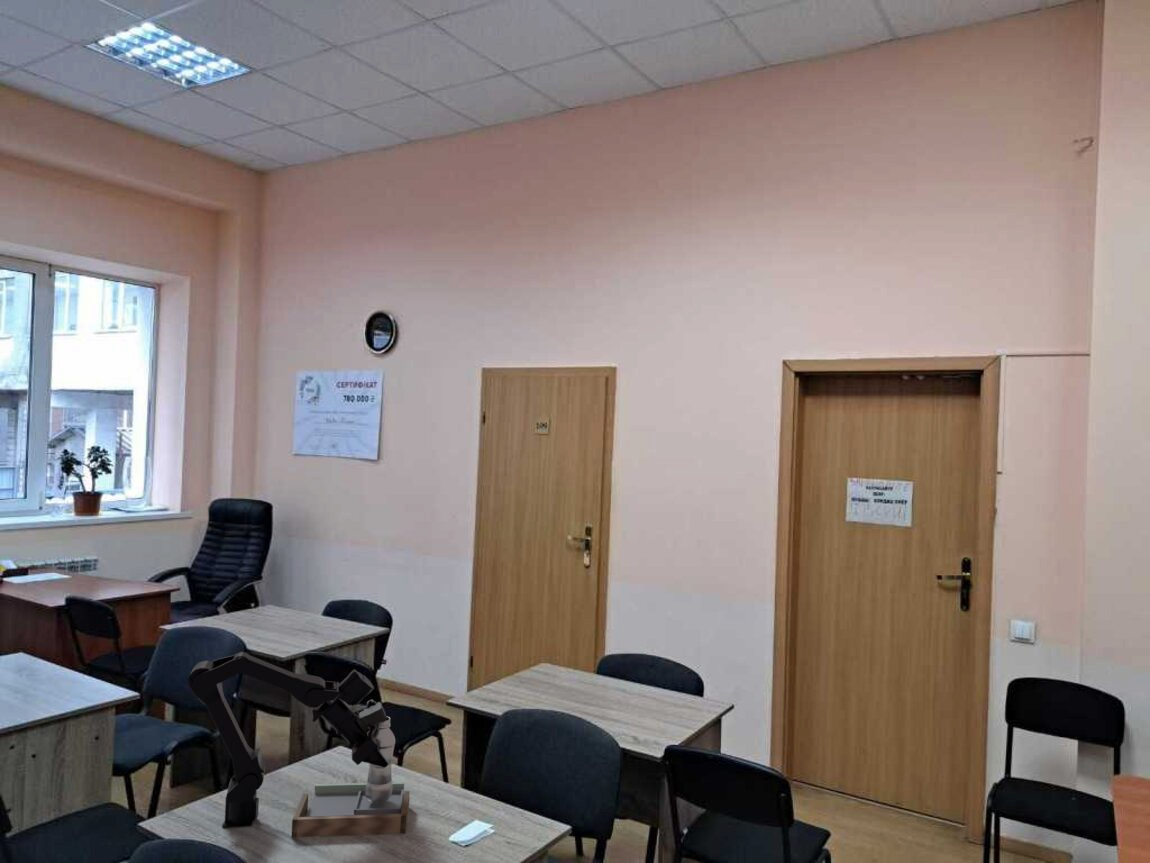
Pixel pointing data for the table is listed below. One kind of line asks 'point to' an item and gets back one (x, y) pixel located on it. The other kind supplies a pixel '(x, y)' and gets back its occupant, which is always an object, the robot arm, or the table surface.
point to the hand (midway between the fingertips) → (386, 760)
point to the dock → (348, 822)
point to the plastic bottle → (380, 776)
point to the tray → (352, 800)
